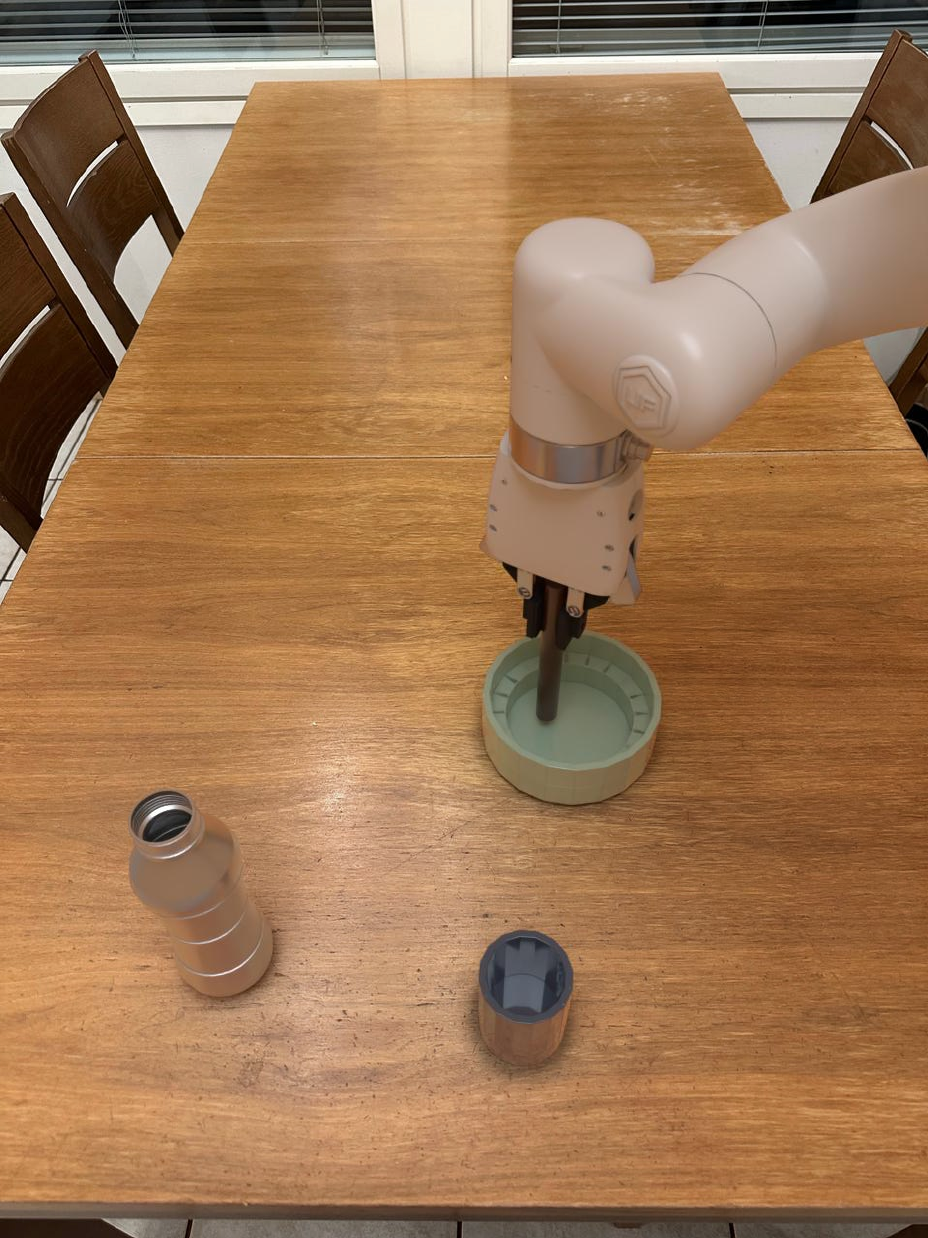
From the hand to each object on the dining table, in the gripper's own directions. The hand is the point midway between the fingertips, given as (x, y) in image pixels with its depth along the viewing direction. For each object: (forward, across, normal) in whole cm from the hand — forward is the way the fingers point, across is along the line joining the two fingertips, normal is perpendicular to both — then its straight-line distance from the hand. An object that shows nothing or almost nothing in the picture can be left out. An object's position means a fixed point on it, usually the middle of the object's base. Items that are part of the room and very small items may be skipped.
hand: (553, 630), depth 71 cm
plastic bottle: (+12, +11, +29) cm, 33 cm away
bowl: (+12, -2, 0) cm, 12 cm away
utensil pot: (+12, -9, +23) cm, 28 cm away
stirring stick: (+11, 0, 0) cm, 11 cm away
